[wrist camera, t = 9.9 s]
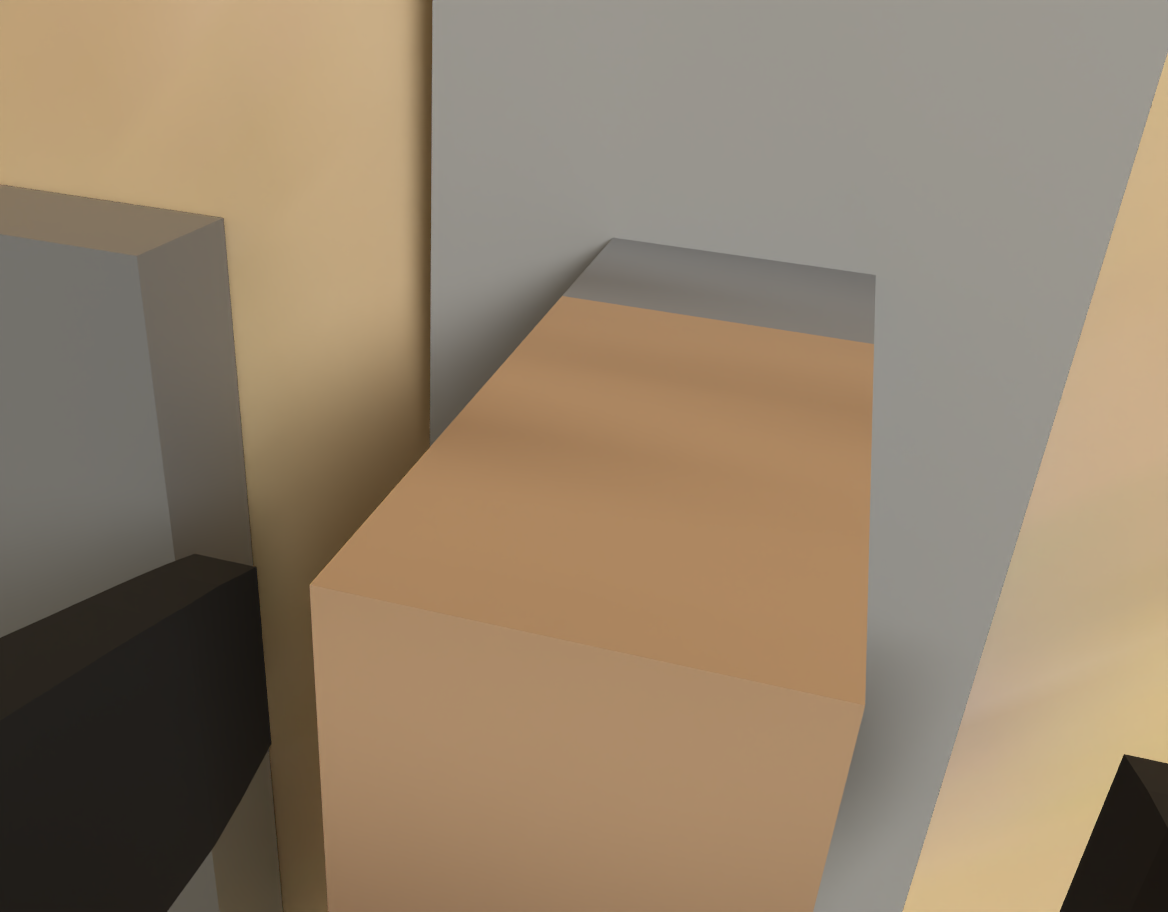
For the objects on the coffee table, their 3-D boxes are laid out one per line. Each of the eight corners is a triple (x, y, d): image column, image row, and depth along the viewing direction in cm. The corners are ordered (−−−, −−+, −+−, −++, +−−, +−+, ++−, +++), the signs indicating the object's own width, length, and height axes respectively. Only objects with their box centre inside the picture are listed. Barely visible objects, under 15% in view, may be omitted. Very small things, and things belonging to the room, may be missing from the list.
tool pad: (870, 987, 14) (870, 1014, 13) (437, 872, 15) (427, 895, 15) (1174, -16, 8) (1188, -13, 8) (449, -78, 9) (432, -80, 9)
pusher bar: (758, 840, 13) (669, 1478, 7) (565, 792, 13) (353, 1363, 8) (875, 275, 9) (866, 705, 4) (613, 237, 10) (307, 586, 5)
